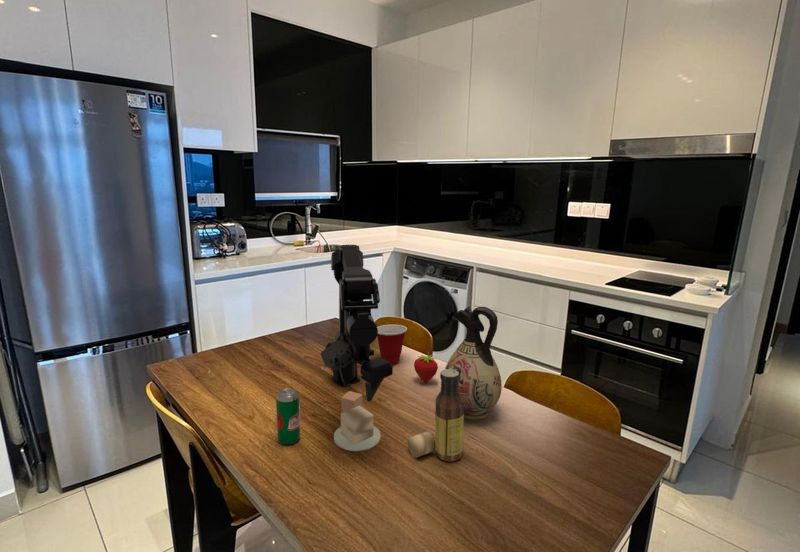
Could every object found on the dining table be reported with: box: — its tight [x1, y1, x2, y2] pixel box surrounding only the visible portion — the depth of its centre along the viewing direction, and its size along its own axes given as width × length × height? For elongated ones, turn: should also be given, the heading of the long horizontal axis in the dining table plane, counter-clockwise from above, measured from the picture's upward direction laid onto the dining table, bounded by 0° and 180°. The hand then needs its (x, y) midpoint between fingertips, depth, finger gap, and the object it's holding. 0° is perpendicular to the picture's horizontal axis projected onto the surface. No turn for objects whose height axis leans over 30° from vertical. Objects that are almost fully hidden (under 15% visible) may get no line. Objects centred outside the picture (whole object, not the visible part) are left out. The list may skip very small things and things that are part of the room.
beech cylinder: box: [407, 431, 436, 459], centre depth 95 cm, size 4×4×4 cm
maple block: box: [340, 406, 375, 445], centre depth 100 cm, size 6×6×6 cm
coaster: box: [333, 424, 381, 452], centre depth 101 cm, size 11×11×1 cm
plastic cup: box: [376, 323, 408, 366], centre depth 141 cm, size 11×11×12 cm
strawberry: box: [413, 350, 439, 384], centre depth 128 cm, size 6×8×10 cm
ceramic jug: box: [444, 306, 503, 420], centre depth 109 cm, size 17×15×30 cm
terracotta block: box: [340, 390, 363, 412], centre depth 113 cm, size 4×4×4 cm
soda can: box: [275, 387, 301, 446], centre depth 98 cm, size 5×5×12 cm
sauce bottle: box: [434, 368, 465, 463], centre depth 93 cm, size 6×6×20 cm
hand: (357, 392), depth 98 cm, fingers open, 9 cm apart
